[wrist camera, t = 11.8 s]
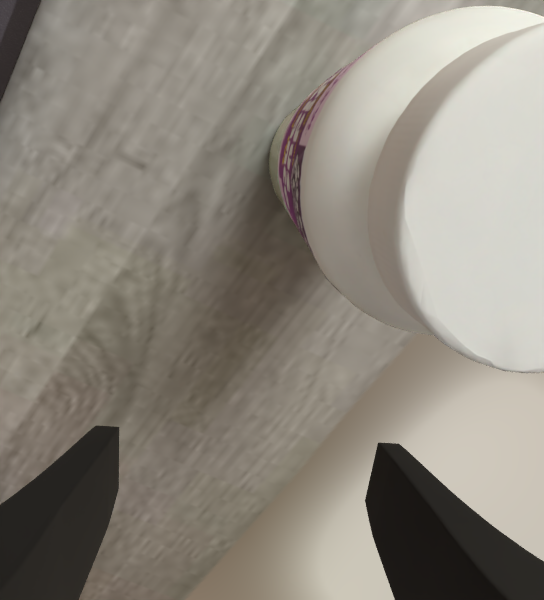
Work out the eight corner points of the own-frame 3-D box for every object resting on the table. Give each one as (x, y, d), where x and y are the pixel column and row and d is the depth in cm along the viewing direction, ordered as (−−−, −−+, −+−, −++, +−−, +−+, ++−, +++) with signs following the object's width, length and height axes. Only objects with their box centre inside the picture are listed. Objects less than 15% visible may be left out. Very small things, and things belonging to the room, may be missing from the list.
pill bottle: (290, 54, 13) (404, -159, 4) (467, 85, 13) (936, -33, 4) (263, 240, 15) (296, 403, 5) (421, 261, 15) (689, 442, 6)
